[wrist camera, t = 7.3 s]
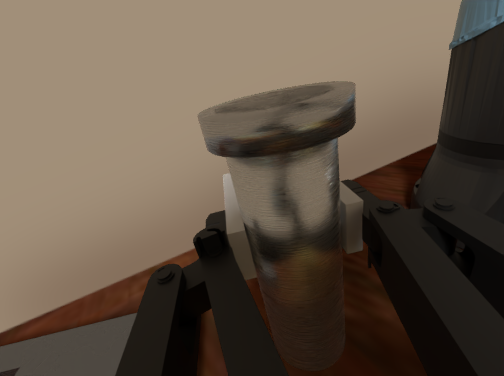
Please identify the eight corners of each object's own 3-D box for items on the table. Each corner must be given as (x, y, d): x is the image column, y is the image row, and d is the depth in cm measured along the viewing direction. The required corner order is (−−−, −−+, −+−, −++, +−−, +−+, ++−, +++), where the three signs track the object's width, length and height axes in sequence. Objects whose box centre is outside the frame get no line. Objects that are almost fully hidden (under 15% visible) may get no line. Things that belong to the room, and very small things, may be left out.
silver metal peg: (331, 284, 18) (316, 80, 11) (377, 368, 13) (396, 83, 6) (257, 304, 17) (201, 106, 11) (274, 397, 12) (190, 131, 6)
